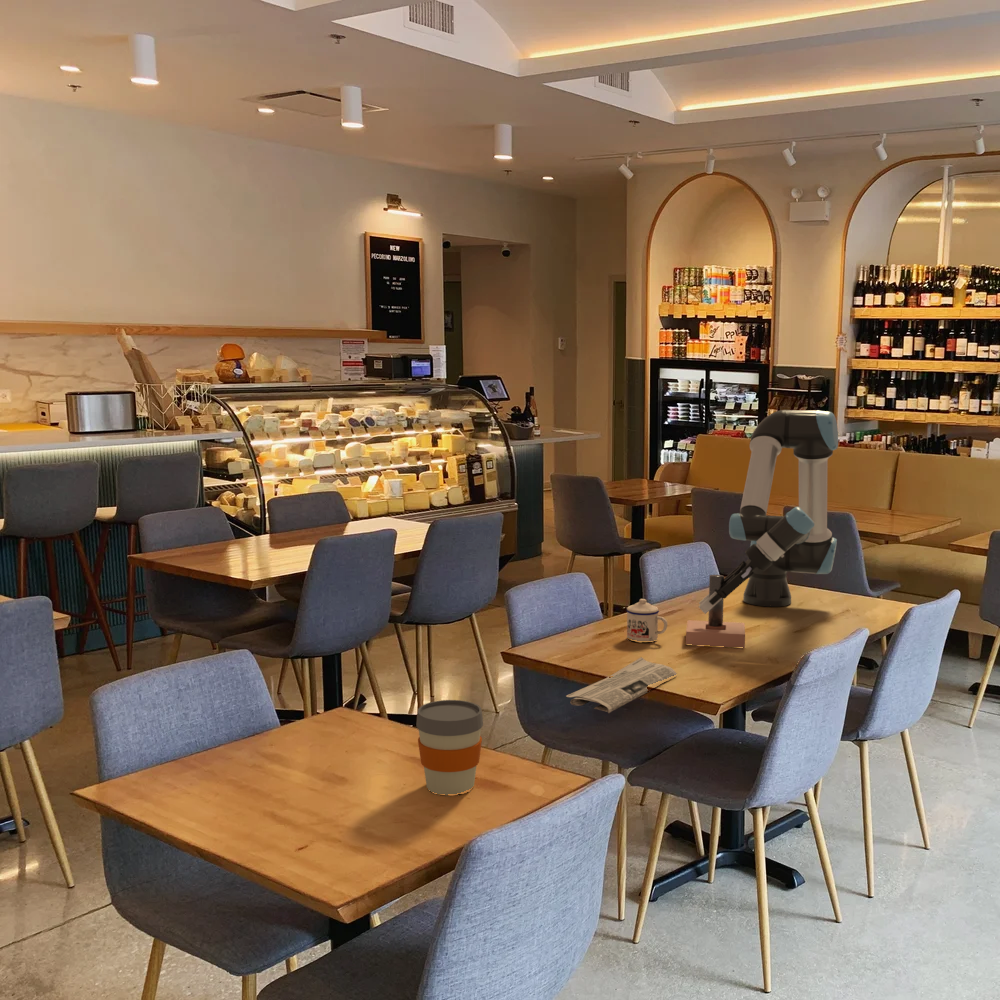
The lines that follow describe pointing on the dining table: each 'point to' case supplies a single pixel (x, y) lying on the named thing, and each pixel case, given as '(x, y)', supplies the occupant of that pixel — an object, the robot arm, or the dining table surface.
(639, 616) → the teacup with lid
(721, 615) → the pin
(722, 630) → the pink block with hole
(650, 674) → the newspaper
